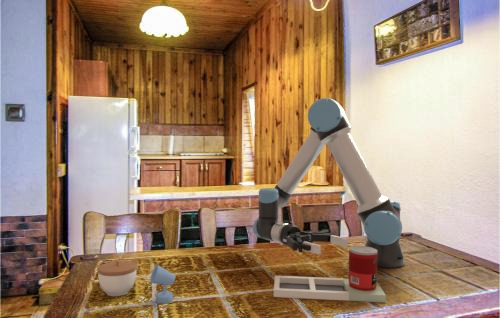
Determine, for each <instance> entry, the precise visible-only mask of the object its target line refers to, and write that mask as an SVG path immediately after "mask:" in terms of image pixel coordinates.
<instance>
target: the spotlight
mask: <svg viewBox="0 0 500 318" xmlns="http://www.w3.org/2000/svg"><path fill="white" fill-rule="evenodd" d="M175 280H176V274H174V273H172V272H171V271H169V270H167V269H165V268H164V267H162V266H161V265H158V264H156V265H155V266H154V268H153V270H152V272H151V275H150V279H149V283H150V284H157V285H162V291H159V292H157V293H156V294H155V302H156V303H158V304H169V303H172V302H173V300H174V299H173V297H174V295H173V292H172V291H168V290H167V288H166V287H167V286H173V284H174V283H175Z"/></svg>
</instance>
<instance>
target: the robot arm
mask: <svg viewBox="0 0 500 318" xmlns="http://www.w3.org/2000/svg"><path fill="white" fill-rule="evenodd" d="M307 121H308V124H309V125H310V126H311V127H310V128H309V132H310V133H309V134H308V136H307V137H306V139H305V140H304V142H303V143H302V145H301V147H300V148H299V150H298V151H297V152H296V154H295V156H294V157H293V159H292V161H291V162H290V163H289V165H288V166H287V168H286V169H285V171H284V172H283V174H282V175H281V177H280V179H279V180H278V181H277V183H276V185H274V187H273V188H272V187H265V188H264V187H263V188H260V189H259V191H258V197H257V198H258V199H257V200H258V218H257V219H256V220H254V223H253V225H252V232H253V234H254V236H256V237H257V238H259V239H262V240H266V241H270V242H274V243H277V244H279V245H280V246H283V245H285V246H287V247H289V248H290V249H291V250H293V251H294V252H296V251H298V253H303V251H305V252H308V253H312V254H314V255H322V245H321V244H317V243H314V242H321V243H330V244H332V245H336V246H341V247H345V248H348V246H349V238H348V237H347V238H346V237H342V236H338V235H336V233H334V232H332V231H331V232H322V231H312V230H308V231H305V230H301V229H300V227H299V226H298V225H295V224H289V223H286V222H281V221H279V210H280V209H282V208H284V207H286V206H287V205H288V204H289V201H290V199H291V197H292V195H293V194H294V192H295V191H296V189H297V188H298V186H299V185H300V184H301V182H302V180H304V178H305V176H306V175H307V173H308V171H309V170H310V169H311V167H312V165H313V164H314V162H315V161H316V159H317V158H318V156H320V154H321V152H322V151H323V149H324V148H325V146H326V145H327V147H328V149H329V151H330V153H331V154H332V157H333V159H334V161H335V163H336V164H337V166H338V168H339V170H340V173H341V175H342V176H343V179H344V180H345V182H346V184H347V186H348V188H349V190H350V192H351V194H352V196H353V198H354V200H355V202H356V204H357V209H356V213H357V216H358V217H359V220H360V221H361V224H362V225H363V230H364V231H363V232H364V234H365V236H366V240H365V244H364V246H367V247H371V248H374V249H376V250H377V252H378V258H377V268H378V267H379V268H399V267H403V266H404V265H405V256H404V252H403V250H402V249H403V248H402V246H401V243H400V239H401V238H400V237H401V234H402V233H403V232H402V231H403V224H402V221H401V210H402V209H401V204H400V202H399V201H391V199H390V197H387V196H385V195H383V194H382V193H381V190H380V189H379V187H378V185H377V183H376V181H375V180H374V178H373V175H372V174H371V172H370V170H369V168H368V166H367V164H366V162H365V161H364V158H363V157H362V155H361V153H360V151H359V148H358V147H357V145H356V143H355V141H354V139H353V137H352V135H351V134H350V133H351V129H352V126H351V123H350V122H349V120H348V117H347V115H346V111H345V109H344V108H343V107H342V105H341V104H340V103H339V102H338V101H337V100H335V99H334V98H333V99H332V98H330V97H329V98H328V97H323V98H319V99H317V100H315V101H314V102H312V104H311V105H310V107H309V109H308V112H307Z"/></svg>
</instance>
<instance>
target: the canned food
mask: <svg viewBox="0 0 500 318" xmlns="http://www.w3.org/2000/svg"><path fill="white" fill-rule="evenodd" d="M377 258H378V252H377V250H376V249H374V248H371V247H367V246H365V245H353V246H350V247H349V249H348V279H349V285H350V286H351V287H352V288H354V289H357V290H362V291H371V290H374V289H376V286H377V283H378V266H377Z"/></svg>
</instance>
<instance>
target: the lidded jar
mask: <svg viewBox="0 0 500 318" xmlns="http://www.w3.org/2000/svg"><path fill="white" fill-rule="evenodd" d="M137 269H138V264H137V263H136V262H135V261H131V260H120V259H116V260H113V261H110V262H106V263H103V264H100V265H99V266H98V267H97V273H98V274H97V275H98V276H97V277H98V284H99V286H100V289H101V290H102V291H103V292H104V293H105V294H106V295H107V296H109V297H121V296H125V295H127V294H128V293H129V291H130V290H131V289H132V288H133V286H134V285H135V282H136V279H137Z"/></svg>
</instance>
